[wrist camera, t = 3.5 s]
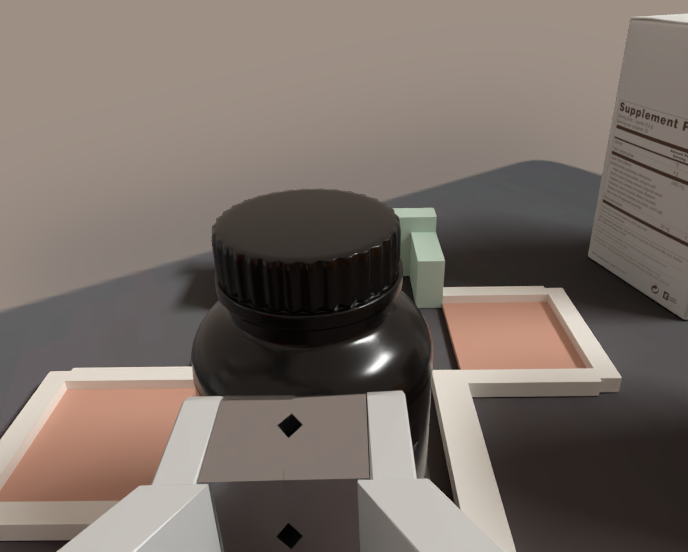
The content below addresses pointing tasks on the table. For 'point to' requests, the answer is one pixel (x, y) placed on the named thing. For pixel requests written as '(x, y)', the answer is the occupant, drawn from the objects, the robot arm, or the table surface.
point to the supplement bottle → (314, 305)
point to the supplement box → (648, 166)
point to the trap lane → (177, 385)
